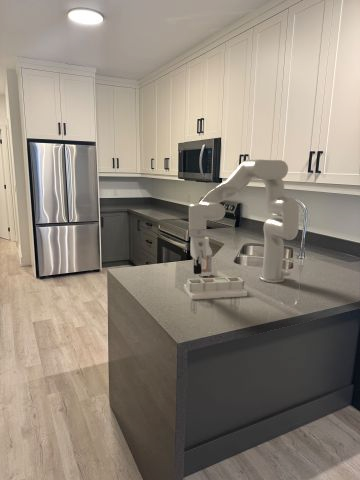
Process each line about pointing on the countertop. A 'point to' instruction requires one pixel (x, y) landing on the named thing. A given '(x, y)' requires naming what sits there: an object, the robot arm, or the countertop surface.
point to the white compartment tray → (215, 288)
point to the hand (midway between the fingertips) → (197, 273)
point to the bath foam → (207, 261)
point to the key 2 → (220, 280)
